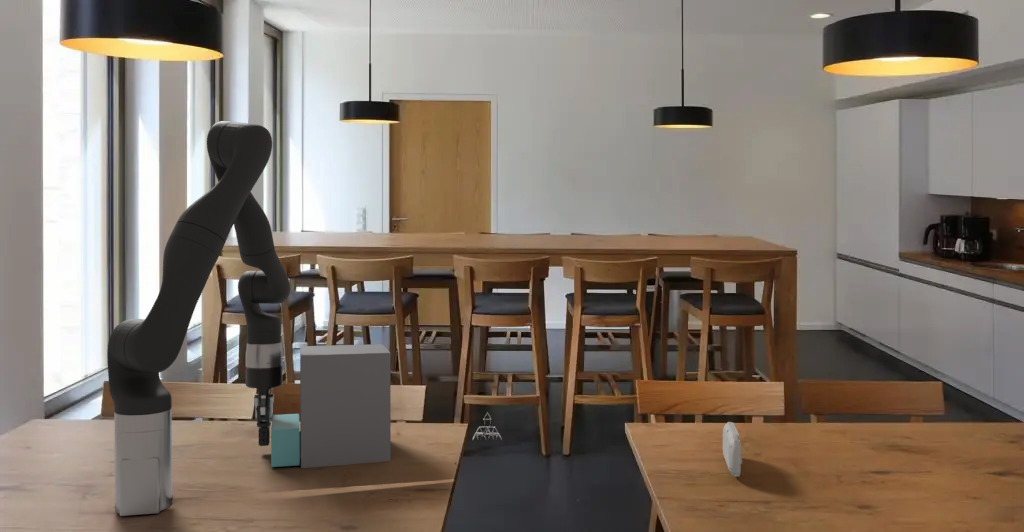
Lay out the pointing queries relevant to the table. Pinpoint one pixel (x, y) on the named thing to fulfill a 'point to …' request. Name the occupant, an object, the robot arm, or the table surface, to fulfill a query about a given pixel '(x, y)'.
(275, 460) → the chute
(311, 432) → the cubby
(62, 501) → the table surface
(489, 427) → the house of cards
